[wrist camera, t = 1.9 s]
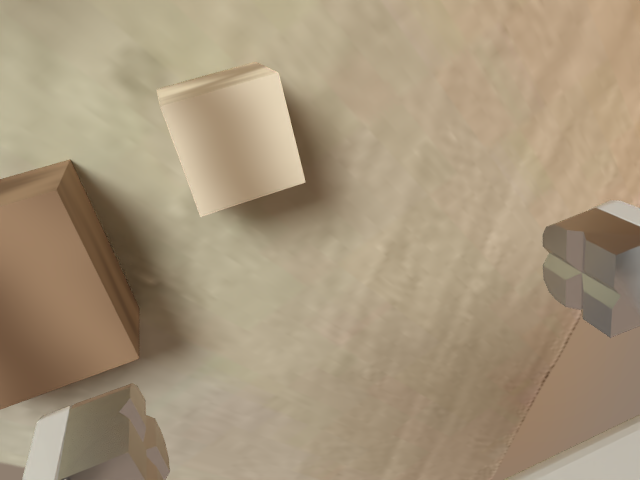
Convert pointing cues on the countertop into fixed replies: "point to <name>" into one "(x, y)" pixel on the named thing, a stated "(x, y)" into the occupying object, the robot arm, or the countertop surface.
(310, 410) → the countertop surface
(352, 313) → the countertop surface
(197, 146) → the birch cube
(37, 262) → the walnut block
